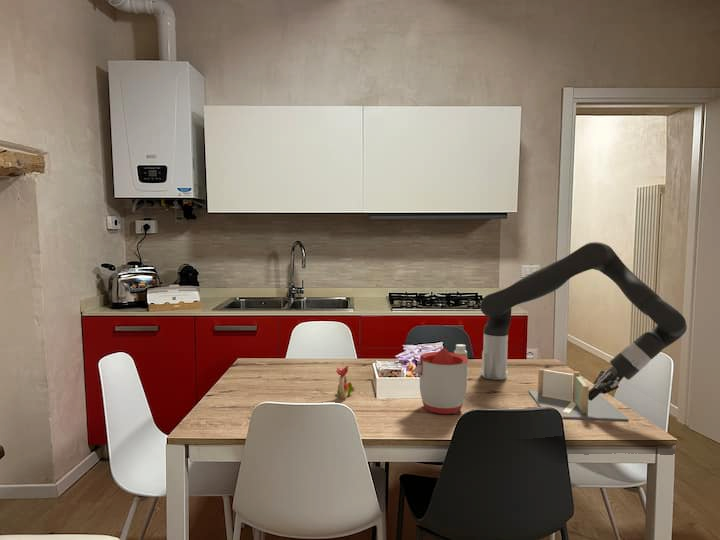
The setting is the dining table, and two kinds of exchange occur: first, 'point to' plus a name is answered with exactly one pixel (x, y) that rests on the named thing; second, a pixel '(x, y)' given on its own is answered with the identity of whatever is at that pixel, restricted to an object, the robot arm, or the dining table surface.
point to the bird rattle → (344, 384)
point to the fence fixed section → (557, 384)
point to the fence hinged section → (581, 395)
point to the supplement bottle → (461, 349)
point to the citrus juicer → (442, 381)
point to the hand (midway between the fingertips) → (587, 397)
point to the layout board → (569, 409)
